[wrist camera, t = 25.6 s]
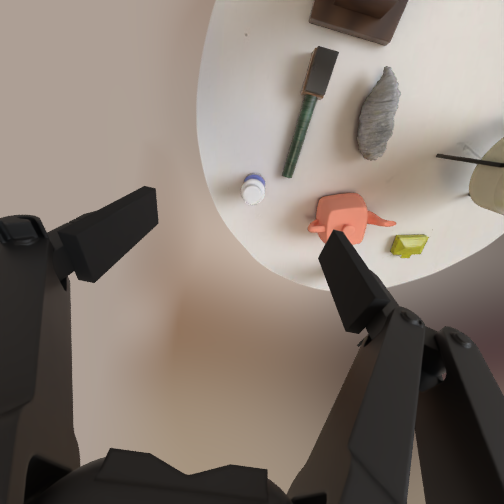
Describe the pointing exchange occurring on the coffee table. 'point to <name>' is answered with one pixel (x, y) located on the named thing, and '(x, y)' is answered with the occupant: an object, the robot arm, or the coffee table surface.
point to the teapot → (344, 217)
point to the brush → (310, 100)
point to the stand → (360, 17)
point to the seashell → (378, 116)
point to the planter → (487, 178)
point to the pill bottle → (253, 189)
